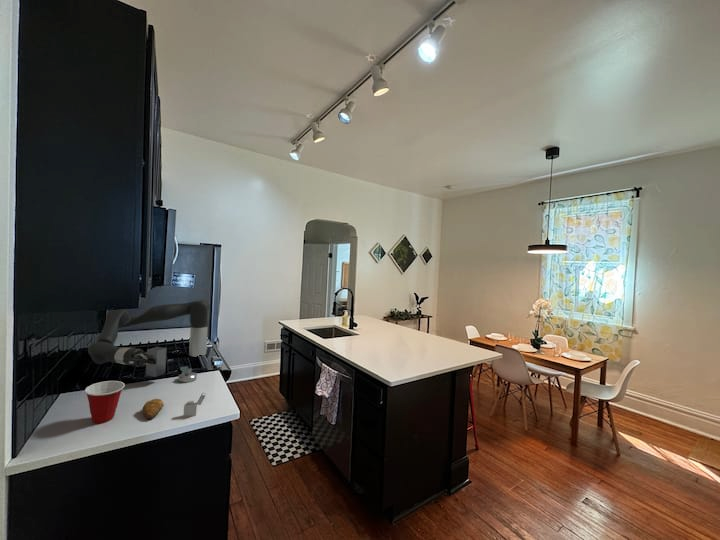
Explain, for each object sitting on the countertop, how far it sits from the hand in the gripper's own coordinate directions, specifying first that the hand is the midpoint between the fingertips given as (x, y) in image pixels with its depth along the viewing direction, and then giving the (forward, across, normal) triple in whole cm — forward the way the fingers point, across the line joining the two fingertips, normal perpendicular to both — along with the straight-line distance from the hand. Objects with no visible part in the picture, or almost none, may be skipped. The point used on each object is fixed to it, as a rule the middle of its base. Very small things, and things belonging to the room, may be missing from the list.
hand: (161, 359), depth 135 cm
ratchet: (+4, -11, -11) cm, 16 cm away
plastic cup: (+7, +31, -11) cm, 34 cm away
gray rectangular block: (-3, 0, -7) cm, 7 cm away
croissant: (+18, +22, -11) cm, 31 cm away
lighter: (+34, +20, -11) cm, 41 cm away
